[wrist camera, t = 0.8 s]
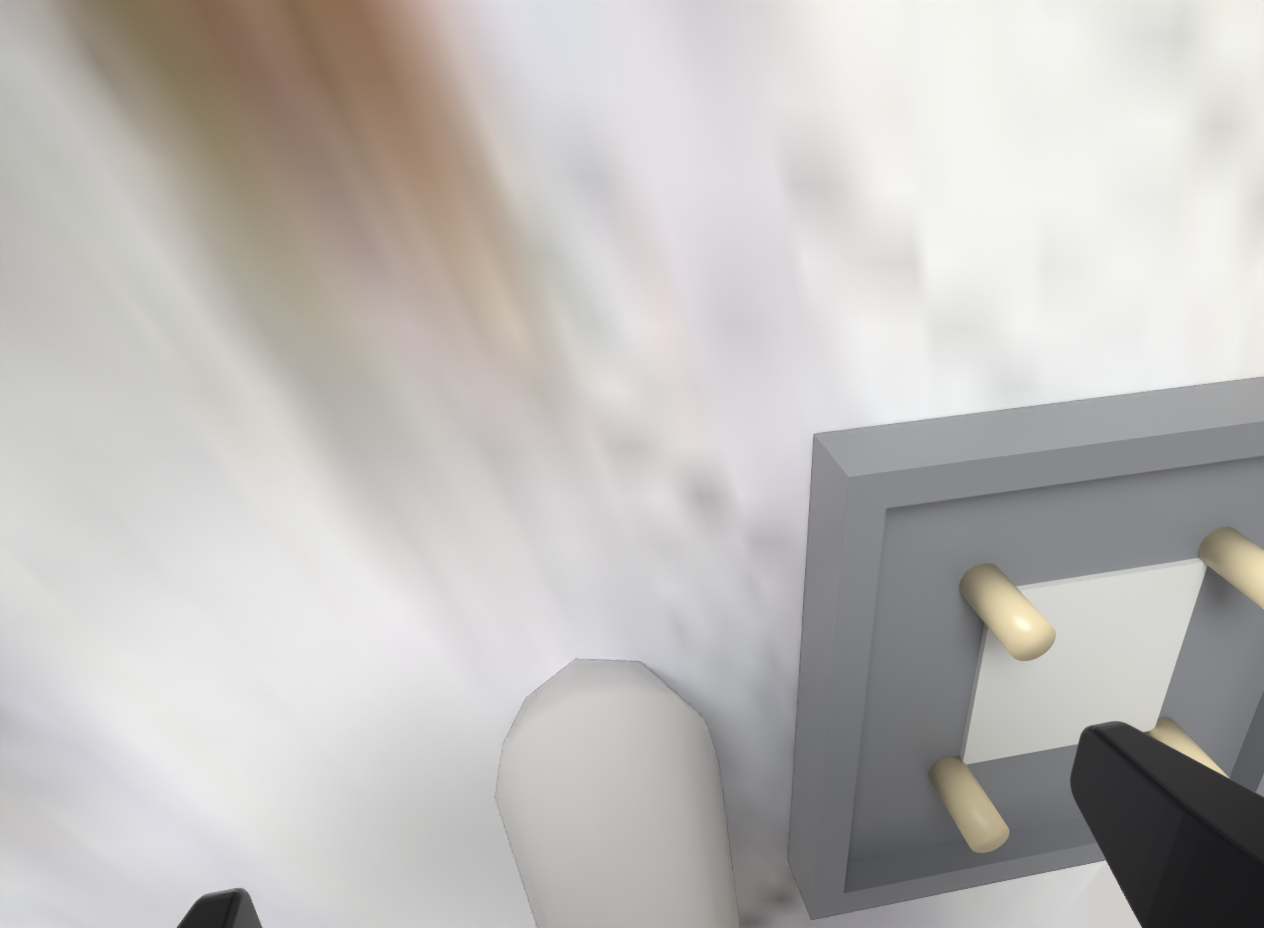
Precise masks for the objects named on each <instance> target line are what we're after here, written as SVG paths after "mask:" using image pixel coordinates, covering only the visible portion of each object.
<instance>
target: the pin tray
mask: <svg viewBox="0 0 1264 928" xmlns="http://www.w3.org/2000/svg"><path fill="white" fill-rule="evenodd" d="M1111 721H1121V722H1124V723H1127V724H1129V725H1131V726H1133V727H1135V728H1137V729H1139V730H1140V731H1142V732H1144V733H1146V734H1148V735H1150V736H1152V737H1153V738H1155V739H1157V740H1159V741H1161V742H1163V743H1165V744H1166V745H1168V746H1170V747H1172V748H1174V749H1176V750H1178V751H1179V752H1181V753H1183V754H1185V755H1187V756H1189V757H1191V758H1192V759H1194V760H1196V761H1198V762H1200V763H1202V764H1204V765H1205V766H1207V767H1209V768H1211V769H1213V770H1215V771H1217V772H1219V773H1220V774H1222V775H1224V776H1226V777H1228V778H1230V779H1232V780H1233V781H1235V782H1237V783H1239V784H1241V785H1243V786H1245V787H1246V788H1248V789H1250V790H1252V791H1254V792H1256V793H1258V794H1259V795H1261V796H1263V797H1264V377H1258V378H1251V379H1243V380H1235V381H1227V382H1219V383H1211V384H1203V385H1195V386H1187V387H1180V388H1172V389H1164V390H1156V391H1148V392H1140V393H1132V394H1124V395H1116V396H1108V397H1101V398H1093V399H1085V400H1077V401H1069V402H1061V403H1053V404H1045V405H1037V406H1029V407H1022V408H1014V409H1006V410H998V411H990V412H982V413H974V414H966V415H958V416H951V417H943V418H935V419H927V420H919V421H911V422H903V423H895V424H887V425H879V426H872V427H864V428H856V429H848V430H840V431H832V432H824V433H816V434H814V443H813V460H812V476H811V492H810V509H809V525H808V541H807V557H806V574H805V590H804V606H803V623H802V639H801V655H800V672H799V688H798V704H797V721H796V737H795V753H794V770H793V786H792V802H791V819H790V835H789V851H788V862H789V864H790V867H791V870H792V872H793V875H794V877H795V880H796V883H797V885H798V888H799V890H800V893H801V895H802V898H803V901H804V903H805V906H806V908H807V911H808V913H809V916H810V919H811V920H815V919H820V918H824V917H829V916H834V915H839V914H844V913H849V912H854V911H859V910H864V909H869V908H874V907H878V906H883V905H888V904H893V903H898V902H903V901H908V900H913V899H918V898H923V897H928V896H933V895H937V894H942V893H947V892H952V891H957V890H962V889H967V888H972V887H977V886H982V885H987V884H991V883H996V882H1001V881H1006V880H1011V879H1016V878H1021V877H1026V876H1031V875H1036V874H1041V873H1045V872H1050V871H1055V870H1060V869H1065V868H1070V867H1075V866H1080V865H1085V864H1090V863H1095V862H1099V861H1104V860H1106V859H1105V857H1104V856H1103V854H1102V852H1101V850H1100V848H1099V846H1098V844H1097V842H1096V840H1095V838H1094V836H1093V835H1092V833H1091V831H1090V829H1089V827H1088V825H1087V823H1086V821H1085V819H1084V817H1083V815H1082V814H1081V812H1080V810H1079V808H1078V806H1077V804H1076V802H1075V800H1074V798H1073V795H1072V792H1071V787H1070V774H1071V770H1072V766H1073V762H1074V758H1075V754H1076V750H1077V746H1078V742H1079V738H1080V735H1081V732H1082V731H1083V730H1084V729H1085V728H1086V727H1088V726H1090V725H1095V724H1101V723H1106V722H1111Z"/></svg>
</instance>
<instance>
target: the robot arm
mask: <svg viewBox="0 0 1264 928" xmlns="http://www.w3.org/2000/svg"><path fill="white" fill-rule="evenodd" d="M1070 787H1071V792H1072V795H1073V798H1074V800H1075V802H1076V804H1077V806H1078V808H1079V810H1080V812H1081V814H1082V815H1083V817H1084V819H1085V821H1086V823H1087V825H1088V827H1089V829H1090V831H1091V833H1092V835H1093V836H1094V838H1095V840H1096V842H1097V844H1098V846H1099V848H1100V850H1101V852H1102V854H1103V856H1104V857H1105V859H1106V861H1107V863H1108V865H1109V867H1110V869H1111V871H1112V873H1113V875H1114V876H1115V878H1116V880H1117V882H1118V884H1119V886H1120V888H1121V890H1122V892H1123V894H1124V896H1125V898H1126V899H1127V901H1128V903H1129V905H1130V907H1131V909H1132V911H1133V912H1134V914H1135V916H1136V918H1137V920H1138V921H1139V923H1140V925H1141V927H1142V928H1264V797H1263V796H1261V795H1259V794H1258V793H1256V792H1254V791H1252V790H1250V789H1248V788H1246V787H1245V786H1243V785H1241V784H1239V783H1237V782H1235V781H1233V780H1232V779H1230V778H1228V777H1226V776H1224V775H1222V774H1220V773H1219V772H1217V771H1215V770H1213V769H1211V768H1209V767H1207V766H1205V765H1204V764H1202V763H1200V762H1198V761H1196V760H1194V759H1192V758H1191V757H1189V756H1187V755H1185V754H1183V753H1181V752H1179V751H1178V750H1176V749H1174V748H1172V747H1170V746H1168V745H1166V744H1165V743H1163V742H1161V741H1159V740H1157V739H1155V738H1153V737H1152V736H1150V735H1148V734H1146V733H1144V732H1142V731H1140V730H1139V729H1137V728H1135V727H1133V726H1131V725H1129V724H1127V723H1124V722H1121V721H1111V722H1106V723H1101V724H1095V725H1090V726H1088V727H1086V728H1085V729H1084V730H1083V731H1082V732H1081V735H1080V738H1079V742H1078V746H1077V750H1076V754H1075V758H1074V762H1073V766H1072V770H1071V774H1070ZM177 928H262V926H261V923H260V921H259V918H258V915H257V913H256V910H255V908H254V905H253V903H252V900H251V897H250V895H249V894H248V892H247V891H246V890H245V889H243V888H234V889H229V890H224V891H218V892H213V893H209V894H206V895H203V896H202V897H200V898H199V899H198V900H197V901H196V902H195V903H194V904H193V906H192V907H191V908H190V910H189V911H188V913H187V914H186V915H185V917H184V918H183V920H182V921H181V922H180V924H179V925H178V926H177Z"/></svg>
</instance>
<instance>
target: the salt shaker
mask: <svg viewBox="0 0 1264 928" xmlns="http://www.w3.org/2000/svg"><path fill="white" fill-rule="evenodd" d="M495 800H496V803H497V806H498V809H499V812H500V815H501V818H502V821H503V824H504V827H505V830H506V833H507V837H508V840H509V843H510V846H511V849H512V852H513V855H514V858H515V861H516V864H517V867H518V870H519V873H520V877H521V880H522V883H523V886H524V889H525V892H526V895H527V898H528V901H529V904H530V907H531V910H532V914H533V917H534V920H535V923H536V926H537V928H740V923H739V915H738V907H737V900H736V892H735V884H734V876H733V868H732V861H731V853H730V845H729V837H728V830H727V822H726V814H725V806H724V799H723V791H722V783H721V775H720V767H719V761H718V757H717V754H716V751H715V747H714V744H713V741H712V737H711V734H710V730H709V728H708V726H707V724H706V722H705V721H704V719H703V717H702V716H701V714H700V713H698V712H697V711H696V710H695V709H694V708H693V707H691V706H690V705H689V704H688V703H687V702H685V701H684V700H683V699H682V698H681V697H680V696H678V695H677V694H676V693H675V692H674V691H673V690H671V689H670V688H669V687H668V686H667V685H666V684H665V683H664V682H662V681H661V680H660V679H659V678H658V677H657V676H656V675H655V674H654V673H652V672H651V671H650V670H649V669H648V668H647V667H646V666H645V665H643V664H642V663H641V662H640V661H618V660H593V659H575V660H573V661H572V662H571V663H570V664H568V665H567V666H566V667H564V668H563V669H562V670H561V671H559V672H558V673H557V674H556V675H554V676H553V677H552V678H550V679H549V680H548V681H547V682H545V683H544V684H543V685H542V686H540V687H539V688H538V689H536V690H535V691H534V692H533V693H531V694H530V695H529V696H528V697H526V699H525V701H524V703H523V705H522V707H521V709H520V711H519V713H518V715H517V717H516V719H515V721H514V723H513V725H512V727H511V729H510V731H509V733H508V735H507V737H506V739H505V741H504V743H503V746H502V753H501V759H500V765H499V772H498V778H497V785H496V792H495Z"/></svg>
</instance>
